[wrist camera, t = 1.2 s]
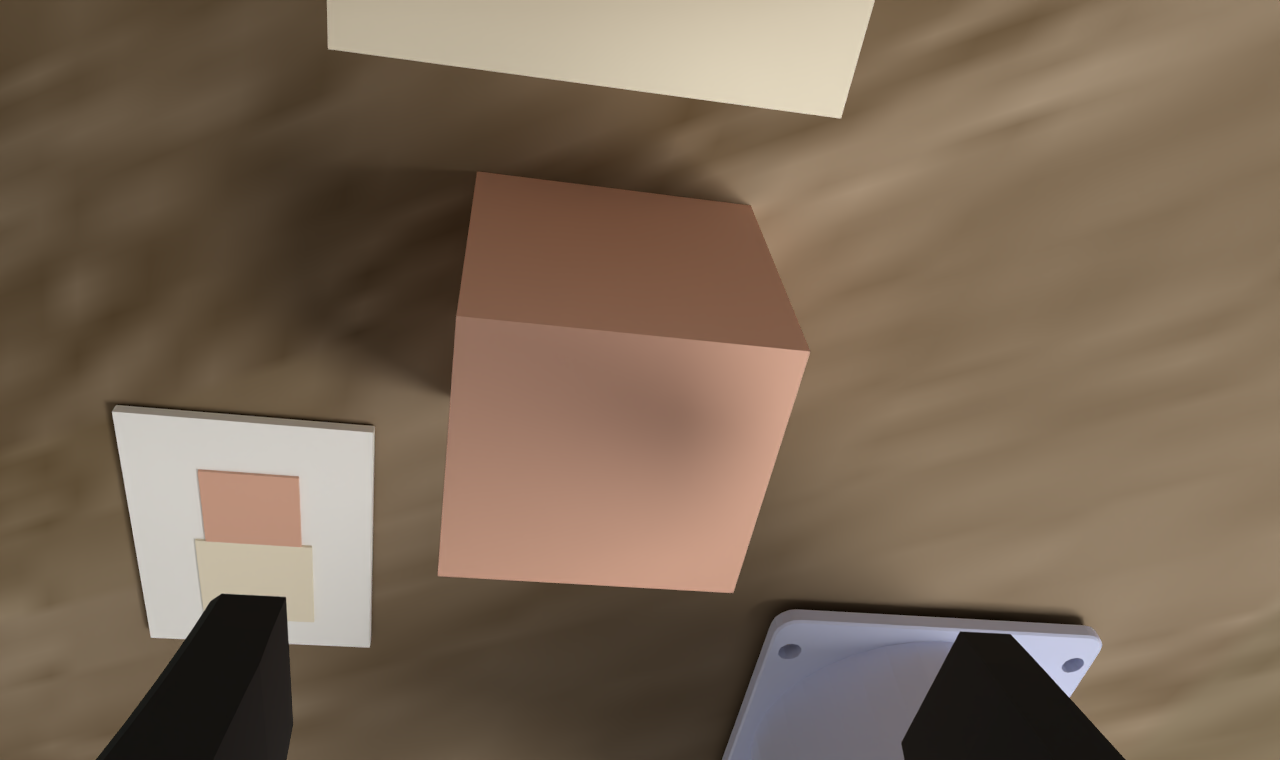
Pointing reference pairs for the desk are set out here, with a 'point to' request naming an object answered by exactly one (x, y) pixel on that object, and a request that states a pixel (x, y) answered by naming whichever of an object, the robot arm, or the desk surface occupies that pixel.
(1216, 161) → the desk surface
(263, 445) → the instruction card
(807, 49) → the birch base block
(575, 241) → the terracotta cube
